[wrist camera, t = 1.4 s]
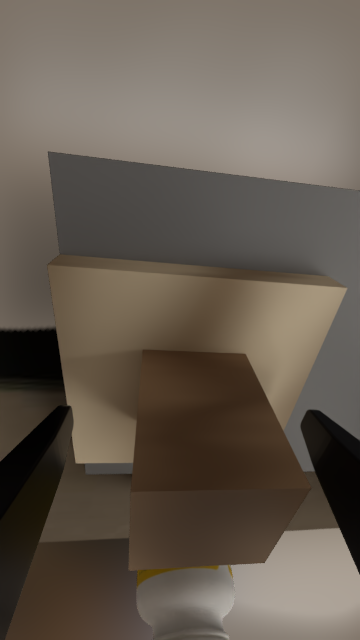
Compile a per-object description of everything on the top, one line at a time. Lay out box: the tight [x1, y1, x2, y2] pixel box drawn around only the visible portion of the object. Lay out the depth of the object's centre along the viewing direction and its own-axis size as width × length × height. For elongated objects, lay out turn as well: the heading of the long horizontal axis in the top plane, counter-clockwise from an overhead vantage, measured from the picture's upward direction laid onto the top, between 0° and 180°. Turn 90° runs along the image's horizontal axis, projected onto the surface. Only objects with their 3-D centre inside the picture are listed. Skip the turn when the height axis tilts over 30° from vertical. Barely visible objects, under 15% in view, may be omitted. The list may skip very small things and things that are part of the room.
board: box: [48, 152, 360, 474], centre depth 14 cm, size 20×16×2 cm
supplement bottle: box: [137, 565, 235, 640], centre depth 16 cm, size 5×5×10 cm
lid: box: [47, 254, 347, 571], centre depth 9 cm, size 10×10×6 cm
